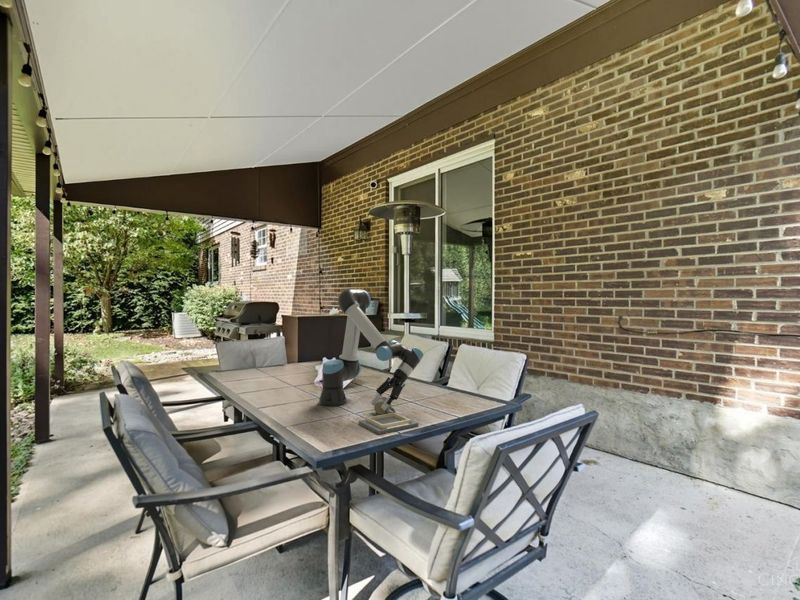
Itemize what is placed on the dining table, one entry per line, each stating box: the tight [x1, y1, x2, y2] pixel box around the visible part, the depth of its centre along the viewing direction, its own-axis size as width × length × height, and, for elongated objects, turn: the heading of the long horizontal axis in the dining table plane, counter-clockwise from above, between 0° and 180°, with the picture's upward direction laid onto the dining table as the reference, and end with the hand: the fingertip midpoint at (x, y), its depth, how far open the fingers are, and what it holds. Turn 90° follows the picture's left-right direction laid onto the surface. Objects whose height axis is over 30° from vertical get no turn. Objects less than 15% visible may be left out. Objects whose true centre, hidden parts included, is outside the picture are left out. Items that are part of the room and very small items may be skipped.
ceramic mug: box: [373, 396, 397, 415], centre depth 218 cm, size 11×8×8 cm
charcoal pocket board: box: [358, 412, 420, 435], centre depth 200 cm, size 18×22×3 cm
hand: (377, 406), depth 217 cm, fingers closed on ceramic mug, 10 cm apart
